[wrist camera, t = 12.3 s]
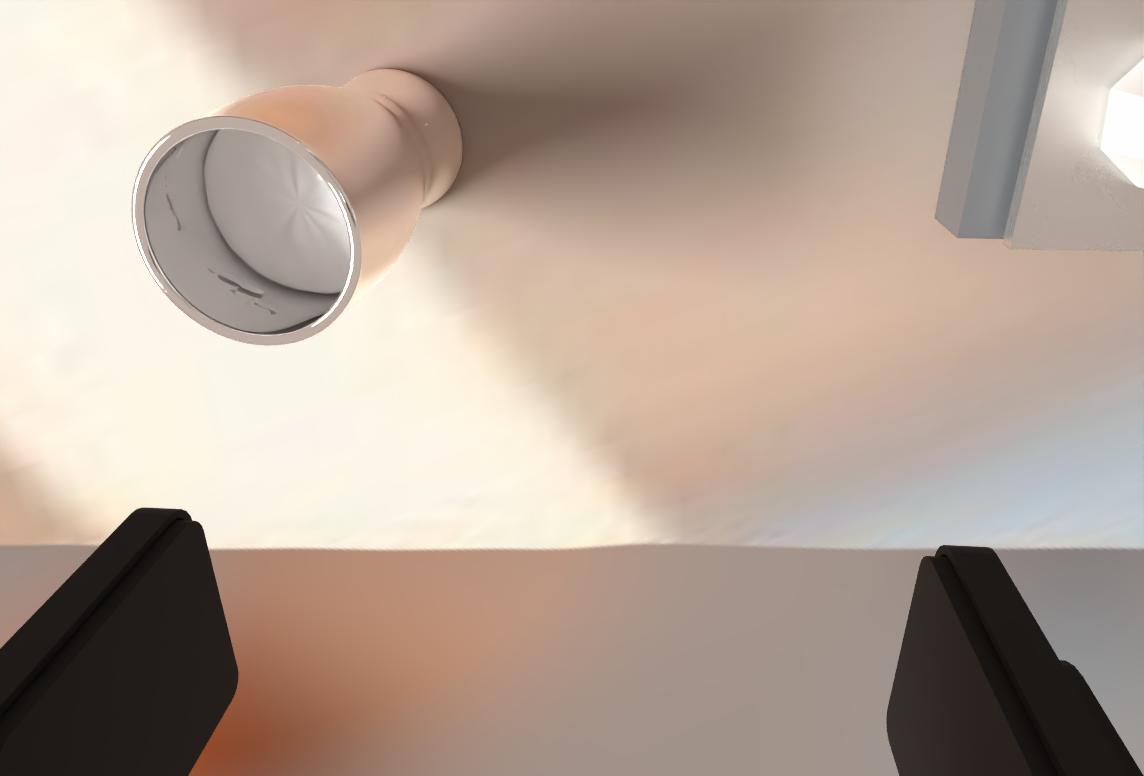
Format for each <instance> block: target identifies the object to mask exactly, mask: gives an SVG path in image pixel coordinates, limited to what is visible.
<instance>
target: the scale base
mask: <svg viewBox="0 0 1144 776" xmlns="http://www.w3.org/2000/svg"><path fill="white" fill-rule="evenodd" d="M1057 1H1058V0H976V5H975V10H974V15H973V20H972V26H971V31H970V36H969V41H968V47H967V52H966V57H965V62H964V68H963V73H962V78H961V84H960V89H959V94H958V99H957V105H956V110H955V115H954V120H953V126H952V131H951V136H950V141H949V147H948V152H947V157H946V163H945V168H944V173H943V178H942V184H941V189H940V194H939V199H938V205H937V210H936V215H935V219H936V220H937V221H938V222H940V223H941V224H942V225H943V226H944V227H945V228H947V229H948V230H949V231H950V232H951V233H952V234H953V235H955V236H956V237H957V238H983V239H1003V237H1004V233H1005V228H1006V224H1007V219H1008V215H1009V211H1010V206H1011V202H1012V198H1013V193H1014V189H1015V185H1016V180H1017V176H1018V171H1019V167H1020V163H1021V158H1022V154H1023V150H1024V145H1025V141H1026V137H1027V132H1028V128H1029V123H1030V119H1031V115H1032V110H1033V106H1034V102H1035V97H1036V93H1037V89H1038V84H1039V80H1040V76H1041V71H1042V67H1043V62H1044V58H1045V54H1046V49H1047V45H1048V41H1049V36H1050V32H1051V28H1052V23H1053V19H1054V14H1055V10H1056V6H1057Z"/></svg>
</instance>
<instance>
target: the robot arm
mask: <svg viewBox="0 0 1144 776" xmlns="http://www.w3.org/2000/svg"><path fill="white" fill-rule="evenodd" d="M237 684H238V668H237V664H236V660H235V656H234V652H233V648H232V644H231V639H230V636H229V631H228V627H227V623H226V619H225V615H224V611H223V607H222V603H221V599H220V595H219V591H218V587H217V583H216V579H215V575H214V571H213V567H212V563H211V559H210V555H209V550H208V546H207V542H206V538H205V534H204V530H203V528H202V525H201V524H200V523H199V522H197V521H192V519H191V516H190V515H189V514H188V513H187V511H184V510H182V509H163V508H139V509H137V510H135V511H134V512H133V513H131V514H130V515H129V516H128V517H127V518H126V520H125V521H124V522H123V523H122V524H121V525H120V526H119V527H118V528H117V529H116V530H115V531H114V532H113V533H112V534H111V535H110V536H109V537H108V538H107V539H106V540H105V541H104V542H103V543H102V544H101V545H100V546H99V547H98V549H97V550H96V551H95V552H94V553H93V554H92V555H91V556H90V557H89V558H88V559H87V560H86V561H85V562H84V563H83V564H82V565H81V566H80V567H79V568H78V569H77V570H76V571H75V572H74V573H73V574H72V575H71V576H70V578H69V579H67V580H66V582H65V583H64V584H63V585H62V586H61V587H60V588H59V589H58V590H57V591H56V592H55V593H54V594H53V595H52V596H51V597H50V598H49V599H48V600H47V601H46V602H45V603H44V604H43V605H42V606H41V607H40V608H39V609H38V610H37V611H36V612H35V614H34V615H33V616H32V617H31V618H30V619H29V620H28V621H27V622H26V623H25V624H24V625H23V626H22V627H21V628H20V629H19V630H18V631H17V632H16V633H15V634H14V635H13V636H12V637H11V638H10V639H9V640H8V641H7V643H5V644H4V646H3V647H2V648H1V649H0V776H188V775H189V773H190V772H191V770H192V768H193V766H194V765H195V763H196V761H197V759H198V758H199V756H200V754H201V753H202V751H203V749H204V747H205V746H206V744H207V742H208V741H209V739H210V737H211V735H212V734H213V732H214V730H215V728H216V727H217V725H218V723H219V722H220V720H221V718H222V717H223V715H224V713H225V711H226V709H227V708H228V706H229V704H230V703H231V701H232V699H233V697H234V695H235V692H236V689H237ZM887 732H888V738H889V743H890V746H891V750H892V753H893V756H894V759H895V763H896V766H897V769H898V772H899V776H1143V774H1142V773H1141V771H1140V769H1139V768H1138V766H1137V764H1136V763H1135V761H1134V760H1133V758H1132V756H1131V755H1130V753H1129V751H1128V750H1127V748H1126V746H1125V745H1124V743H1123V742H1122V740H1121V738H1120V737H1119V735H1118V733H1117V732H1116V730H1115V728H1114V727H1113V725H1112V724H1111V722H1110V720H1109V719H1108V717H1107V715H1106V714H1105V712H1104V711H1103V709H1102V707H1101V706H1100V704H1099V702H1098V701H1097V699H1096V697H1095V696H1094V694H1093V692H1092V691H1091V689H1090V687H1089V686H1088V684H1087V683H1086V681H1085V679H1084V678H1083V676H1081V674H1080V673H1079V671H1078V670H1077V669H1076V668H1075V666H1073V665H1072V664H1070V663H1069V662H1067V661H1062V660H1059V659H1058V657H1057V656H1056V654H1055V652H1054V650H1053V649H1052V647H1051V645H1050V644H1049V642H1048V640H1047V639H1046V637H1045V635H1044V634H1043V632H1042V630H1041V629H1040V627H1039V625H1038V623H1037V622H1036V620H1035V618H1034V617H1033V615H1032V613H1031V612H1030V610H1029V608H1028V606H1027V605H1026V603H1025V601H1024V600H1023V598H1022V596H1021V595H1020V593H1019V591H1018V590H1017V588H1016V586H1015V585H1014V583H1013V581H1012V579H1011V578H1010V576H1009V574H1008V573H1007V571H1006V569H1005V568H1004V566H1003V564H1002V563H1001V561H1000V559H999V557H998V556H997V554H996V553H995V552H994V551H993V549H991V548H988V547H972V546H951V545H943V546H940V547H939V548H938V550H937V551H936V554H935V556H933V557H932V556H925V557H923V559H922V560H921V563H920V567H919V571H918V575H917V580H916V584H915V589H914V593H913V598H912V602H911V607H910V611H909V615H908V620H907V624H906V629H905V634H904V638H903V642H902V647H901V651H900V656H899V660H898V665H897V669H896V674H895V679H894V683H893V687H892V692H891V696H890V700H889V705H888V710H887Z"/></svg>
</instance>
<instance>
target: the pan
mask: <svg viewBox="0 0 1144 776" xmlns="http://www.w3.org/2000/svg"><path fill="white" fill-rule="evenodd" d="M1143 58H1144V0H1058V1H1057V6H1056V10H1055V14H1054V19H1053V23H1052V28H1051V32H1050V36H1049V41H1048V45H1047V49H1046V54H1045V58H1044V62H1043V67H1042V71H1041V76H1040V80H1039V84H1038V89H1037V93H1036V97H1035V102H1034V106H1033V110H1032V115H1031V119H1030V123H1029V128H1028V132H1027V137H1026V141H1025V145H1024V150H1023V154H1022V158H1021V163H1020V167H1019V171H1018V176H1017V180H1016V185H1015V189H1014V193H1013V198H1012V202H1011V206H1010V211H1009V215H1008V219H1007V224H1006V228H1005V233H1004V237H1003V241H1002V243H1003V244H1004V245H1005V246H1007V247H1008V248H1009V249H1032V250H1085V251H1137V252H1144V188H1140V187H1137V186H1136V185H1135V184H1134V183H1133V182H1132V181H1131V180H1130V179H1129V178H1128V177H1127V176H1126V175H1125V174H1124V173H1123V172H1122V171H1121V170H1120V169H1119V168H1118V167H1117V166H1116V165H1115V164H1114V163H1113V162H1112V161H1111V160H1110V159H1109V158H1108V157H1107V156H1106V154H1105V153H1104V152H1103V151H1102V150H1101V144H1102V138H1103V132H1104V126H1105V120H1106V114H1107V108H1108V102H1109V96H1110V90H1111V88H1112V87H1113V86H1114V85H1115V84H1116V83H1117V82H1119V81H1120V80H1121V79H1122V78H1123V77H1124V76H1125V75H1126V74H1127V73H1128V72H1129V71H1130V70H1132V69H1133V68H1134V67H1135V66H1136V65H1137V64H1138V63H1139V62H1140V61H1141V60H1142V59H1143Z"/></svg>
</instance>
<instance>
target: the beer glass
mask: <svg viewBox="0 0 1144 776" xmlns="http://www.w3.org/2000/svg"><path fill="white" fill-rule="evenodd" d="M461 160H462V136H461V131H460V127H459V124H458V121H457V118H456V116H455V114H454V112H453V110H452V108H451V106H450V105H449V103H448V102H447V100H446V99H445V98H444V97H443V95H442V94H441V93H440V92H439V91H438V90H437V89H436V88H435V87H433V86H432V85H431V84H430V83H428V82H427V81H425V80H424V79H422V78H420V77H418V76H416V75H414V74H412V73H409V72H406V71H402V70H396V69H377V70H371V71H367V72H364V73H362V74H360V75H358V76H356V77H354V78H352V79H351V80H349V81H348V82H347V83H345V84H344V85H343V86H342V87H334V86H327V85H288V86H282V87H277V88H273V89H268V90H263V91H259V92H256V93H253V94H250V95H247V96H245V97H242V98H239V99H237V100H234V101H232V102H229V103H227V104H225V105H223V106H221V107H219V108H217V109H215V110H213V111H211V112H209V113H207V114H205V115H203V116H201V117H200V118H198V119H196V120H193V121H190V122H187V123H185V124H182V125H180V126H178V127H176V128H175V129H173V130H171V131H170V132H169V133H167V134H166V135H165V136H163V137H162V138H161V139H160V140H159V141H158V142H157V143H156V144H155V145H154V146H153V147H152V148H151V150H150V151H149V152H148V154H147V155H146V157H145V158H144V160H143V162H142V164H141V166H140V168H139V171H138V173H137V176H136V179H135V183H134V187H133V193H132V204H131V211H132V223H133V229H134V234H135V238H136V242H137V245H138V248H139V251H140V253H141V256H142V258H143V260H144V262H145V264H146V266H147V268H148V270H149V272H150V274H151V275H152V277H153V278H154V280H155V281H156V283H157V284H158V286H159V287H160V288H161V290H162V291H163V292H164V293H165V294H166V296H167V297H168V298H169V299H170V300H171V301H172V302H173V303H174V304H175V305H176V306H177V307H178V308H179V309H180V310H181V311H183V312H184V313H185V314H186V315H188V316H189V317H190V318H192V319H193V320H194V321H196V322H197V323H199V324H200V325H202V326H204V327H205V328H207V329H209V330H211V331H213V332H215V333H217V334H219V335H222V336H224V337H227V338H230V339H233V340H236V341H239V342H244V343H248V344H255V345H284V344H290V343H294V342H298V341H301V340H304V339H307V338H309V337H312V336H314V335H316V334H317V333H319V332H321V331H322V330H324V329H325V328H327V327H328V326H329V325H331V324H332V323H333V322H334V321H335V320H336V319H337V318H338V317H339V316H340V315H341V314H342V313H344V312H345V311H346V310H348V309H349V308H350V307H352V306H353V305H354V304H355V303H356V302H358V301H359V300H360V299H361V298H363V297H364V296H365V295H366V294H367V293H369V292H370V291H371V290H372V289H373V288H374V287H375V286H376V285H377V284H378V283H379V282H380V281H381V280H382V279H383V278H384V277H385V276H386V275H387V273H388V272H389V271H390V270H391V268H392V267H393V266H394V264H395V263H396V262H397V260H398V259H399V258H400V256H401V255H402V254H403V252H404V250H405V249H406V247H407V245H408V243H409V241H410V239H411V236H412V234H413V232H414V230H415V228H416V225H417V222H418V219H419V216H420V213H421V209H423V208H425V207H427V206H429V205H431V204H433V203H434V202H436V201H437V200H438V199H440V198H441V197H442V196H443V195H444V194H445V193H446V192H447V191H448V190H449V188H450V187H451V185H452V184H453V182H454V180H455V179H456V176H457V174H458V171H459V168H460V165H461Z"/></svg>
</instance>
